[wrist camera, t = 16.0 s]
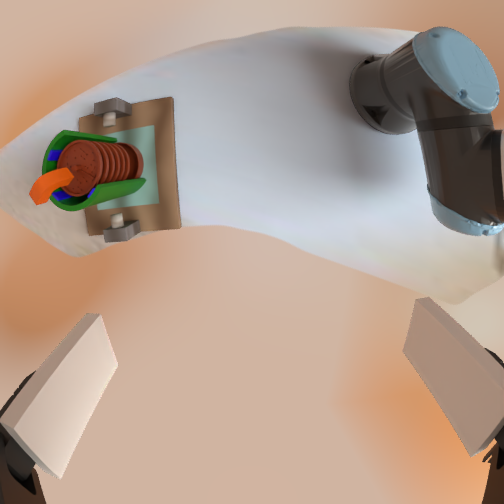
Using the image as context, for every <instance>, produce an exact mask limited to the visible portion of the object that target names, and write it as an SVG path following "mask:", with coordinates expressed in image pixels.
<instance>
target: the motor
mask: <svg viewBox="0 0 504 504" xmlns="http://www.w3.org/2000/svg"><path fill="white" fill-rule="evenodd" d="M116 142H117V138H113V137H108V136H102V135H96V134H89V133H83V132H76V131H68V130H63V131H61V132H60V133H59V134H58V135H57V136H56V137H55V138H54V139H53V140H52V142H51V143H50V145H49V147H48V148H47V151H46V153H45V156H44V160H43V166H42V176H41V177H39V178H38V179H37V180H36V182H35V183H34V185H33V187H32V189H31V191H30V193H29V195H30V196H31V198H32V199H33V201H34V202H35V204H36V205H39V204H42V203H46V202H47V201H48V199H49V198H50V200H51V201H52V202H53V203H54V204H55V205H56V206H57V207H59V208H61V209H63V210H66V211H77V210H81V209H84V208H87V207H90V206H93V205H96V204H100V203H103V202H106V201H110V200H113V199H117V198H120V197H124V196H127V195H130V194H133V193H135V192H136V191H138V190H139V189H140V188H141V187H142V186H143V185H144V184H145V182H146V179H145V178H140V177H141V175H142V172H143V167H144V161H143V157H142V154H141V152H140V151H139V149H138V148H136V147H135V146H134V145H131V144H128V143H121V142H119V143H116Z"/></svg>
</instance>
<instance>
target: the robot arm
mask: <svg viewBox="0 0 504 504" xmlns="http://www.w3.org/2000/svg"><path fill="white" fill-rule="evenodd" d="M350 93H351V97H352V101H353V103H354V105H355V107H356V109H357V111H358V112H359V114H360V115H361V116H362V118H363V119H364V120H365V121H366V122H367V123H368V124H369V125H371V126H372V127H374V128H375V129H377V130H379V131H381V132H383V133H387V134H392V135H398V134H405V133H409V132H411V131H413V130H415V129H417V132H418V136H419V141H420V145H421V150H422V154H423V159H424V165H425V170H426V176H427V182H428V184H427V190H428V193H429V195H430V200H431V206H432V211H433V213H434V215H435V217H436V218H437V219H438V221H439V222H440V223H441V224H443V225H444V226H446V227H447V228H449V229H451V230H454V231H456V232H459V233H463V234H467V235H472V236H481V235H482V234H484V235H486V236H490V235H495V234H497V233H499V232H500V231H501V230H502V229H503V226H504V130H495V129H494V126H493V121H492V116H491V111H493V109H494V108H496V106H497V104H498V102H499V97H498V95H499V94H500V90H499V84H498V80H497V77H496V74H495V72H494V70H493V68H492V66H491V64H490V62H489V60H488V59H487V57H486V56H485V55H484V54H483V52H482V51H481V50H480V48H479V47H478V46H477V45H475V44H474V43H473V42H472V41H471V40H470V39H469V38H468V37H466V36H465V35H464V34H462V33H460V32H458V31H456V30H454V29H451V28H448V27H434V28H432V29H429V30H427V31H425V32H421V33H419V34H417V35H415V37H414V38H413V39H411V40H410V41H408V42H407V43H405V44H404V45H402V46H401V47H399V48H398V49H396V50H395V51H393V52H392V53H391V54H377V55H372V56H369V57H367V58H365V59H364V60H363V61H361V62H360V63H359V64H358V65H357V66H356V67H355V68H354V70H353V72H352V75H351V78H350ZM403 352H404V354H405V355H406V357H407V358H408V360H409V361H410V362H411V364H412V365H413V367H414V368H415V370H416V371H417V373H418V374H419V376H420V377H421V378H422V380H423V381H424V383H425V384H426V386H427V387H428V389H429V390H430V392H431V393H432V395H433V396H434V398H435V399H436V401H437V402H438V404H439V405H440V407H441V409H442V410H443V412H444V413H445V415H446V417H447V418H448V420H449V421H450V423H451V425H452V426H453V428H454V430H455V431H456V433H457V435H458V436H459V438H460V440H461V441H462V443H463V444H464V446H465V448H466V450H467V452H468V453H469V455H470V457H473V456H474V455H476V454H478V453H479V452H481V451H482V450H484V449H485V448H487V446H488V445H489V444H490V443H491V441H492V440H493V439H494V438H495V440H496V441H497V443H496V444H495V445H494V446H493V448H492V449H491V450H490V451H489V452H488V453H487V454H486V456H485V457H484V459H483V461H482V462H485V461H486V460H487V459H488V458H489V457H490V456H491V455H492V457H491V458H490V460H489V461H488V463H491V465H490V470H489V475H488V480H487V485H486V489H485V493H484V497H483V501H482V504H504V363H503V361H502V360H501V359H500V358H499V357H498V356H497V355H496V354H495V353H493V352H492V351H490V350H488V349H486V348H483V347H482V346H481V345H480V344H479V343H478V342H477V341H476V340H475V339H474V338H473V337H472V336H471V335H470V334H469V333H468V332H467V331H466V330H465V329H464V328H463V327H462V326H461V325H459V323H457V322H456V321H455V320H454V319H453V318H452V317H451V316H450V315H449V314H448V313H446V312H445V311H444V310H443V309H442V308H441V307H440V306H438V304H436V303H435V302H434V301H433V300H432V299H431V298H429V297H427V298H420V299H416V300H415V305H414V310H413V313H412V318H411V322H410V326H409V330H408V334H407V337H406V341H405V344H404V348H403ZM117 367H118V363H117V360H116V357H115V355H114V352H113V349H112V346H111V344H110V340H109V338H108V335H107V332H106V328H105V326H104V322H103V319H102V316H101V314H93V313H87V314H86V315H85V316H84V317H83V318H82V319H81V320H80V321H79V322H78V323H77V324H76V326H75V327H74V328H73V329H72V330H71V331H70V332H69V333H68V334H67V336H66V337H65V338H64V339H63V340H62V341H61V343H59V345H58V346H57V347H56V348H55V349H54V350H53V352H52V353H51V354H50V355H49V356H48V358H47V359H46V360H45V361H44V362H43V364H42V365H41V366H40V367H39V368H38V370H37V371H35V372H33V373H32V374H30V375H29V376H27V377H26V378H25V379H24V380H23V382H22V383H21V384H20V385H19V388H17V389H16V391H15V392H14V395H12V396H11V397H10V398H9V400H8V401H7V402H6V404H5V405H4V406H3V408H2V409H1V410H0V504H46V501H45V498H44V495H43V492H42V489H41V485H40V481H39V477H38V474H37V472H36V470H35V469H34V468H33V467H34V465H35V463H36V464H37V465H38V466H39V467H40V468H41V469H42V470H43V471H44V472H46V473H48V474H50V475H52V476H54V477H56V478H59V479H61V478H62V476H63V473H64V471H65V469H66V467H67V465H68V462H69V460H70V458H71V456H72V454H73V452H74V449H75V447H76V445H77V443H78V441H79V439H80V437H81V435H82V433H83V431H84V429H85V427H86V425H87V423H88V421H89V419H90V417H91V415H92V413H93V411H94V409H95V407H96V405H97V403H98V401H99V400H100V398H101V396H102V394H103V392H104V390H105V388H106V387H107V385H108V383H109V381H110V379H111V377H112V376H113V374H114V372H115V370H116V368H117Z"/></svg>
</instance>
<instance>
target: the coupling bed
mask: <svg viewBox="0 0 504 504" xmlns="http://www.w3.org/2000/svg"><path fill="white" fill-rule="evenodd" d="M79 132H83V133H89V134H96V135H102V136H108V137H113V138H117V142H116V143H119V142H121V143H128V144H131V145H134V146H135V147H136V148H138V149H139V151H140V152H141V154H142V157H143V161H144V167H143V172H142V175H141V177H140V178H145V179H146V182H145V184H144V185H143V186H142V187H141V188H140V189H139V190H138V191H136V192H135V193H133V194H130V195H127V196H124V197H120V198H117V199H113V200H110V201H106V202H103V203H100V204H96V205H93V206H90V207H87V208H85V213H86V220H87V227H88V233H89V236H93V235H104V239H105V243H106V242H121V241H128V240H129V239H131V238H132V237H133V236H135V235H136V234H138V233H139V232H141V231H155V230H169V229H180V228H181V218H180V207H179V196H178V183H177V169H176V153H175V132H174V99H173V98H172V97H167V98H161V99H155V100H150V101H145V102H140V103H135V104H130V103H128V102H126V101H124V100H121V99H119V98H117V97H116V98H112V99H108V100H105V101H101V102H98V103H94V114H91V115H88V116H84V117H81V118H79Z"/></svg>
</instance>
